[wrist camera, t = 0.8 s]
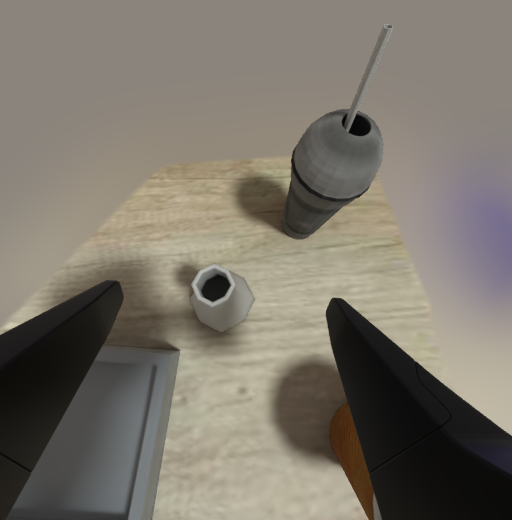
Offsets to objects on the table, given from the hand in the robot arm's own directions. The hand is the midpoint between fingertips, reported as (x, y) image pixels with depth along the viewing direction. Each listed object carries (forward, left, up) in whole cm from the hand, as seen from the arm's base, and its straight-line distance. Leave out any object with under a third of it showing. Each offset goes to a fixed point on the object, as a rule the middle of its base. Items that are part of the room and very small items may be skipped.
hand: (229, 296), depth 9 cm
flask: (+2, +2, -17) cm, 18 cm away
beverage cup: (+13, -7, -17) cm, 23 cm away
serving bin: (-12, +13, -17) cm, 25 cm away
